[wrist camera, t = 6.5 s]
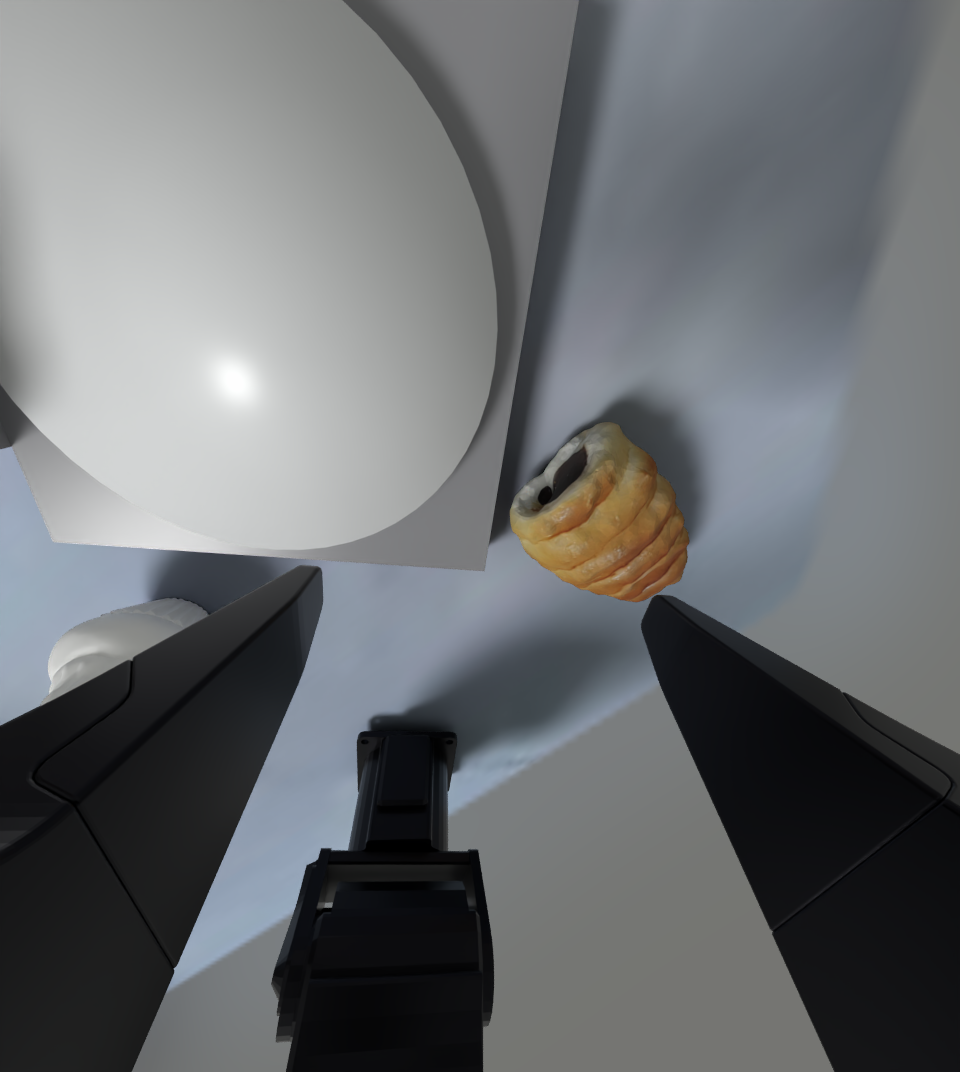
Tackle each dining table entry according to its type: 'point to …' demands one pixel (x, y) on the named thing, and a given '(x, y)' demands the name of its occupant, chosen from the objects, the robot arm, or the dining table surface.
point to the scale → (271, 267)
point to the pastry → (603, 518)
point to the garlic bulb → (115, 640)
